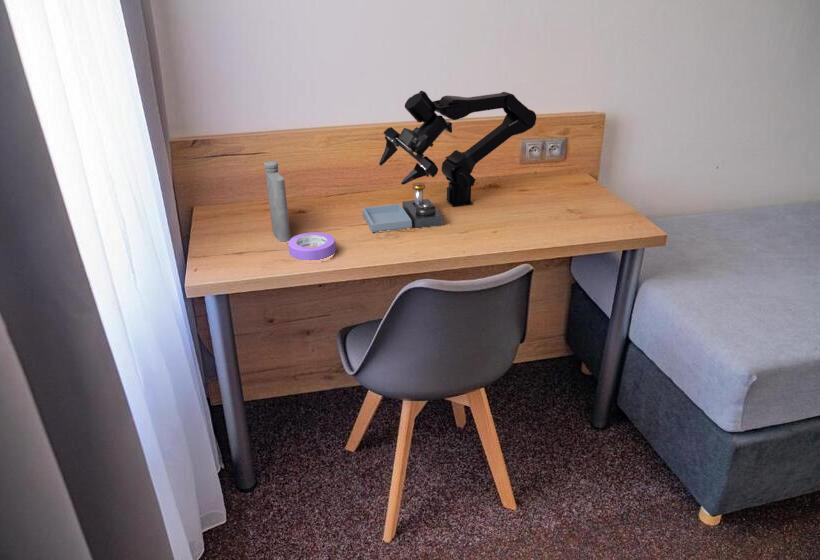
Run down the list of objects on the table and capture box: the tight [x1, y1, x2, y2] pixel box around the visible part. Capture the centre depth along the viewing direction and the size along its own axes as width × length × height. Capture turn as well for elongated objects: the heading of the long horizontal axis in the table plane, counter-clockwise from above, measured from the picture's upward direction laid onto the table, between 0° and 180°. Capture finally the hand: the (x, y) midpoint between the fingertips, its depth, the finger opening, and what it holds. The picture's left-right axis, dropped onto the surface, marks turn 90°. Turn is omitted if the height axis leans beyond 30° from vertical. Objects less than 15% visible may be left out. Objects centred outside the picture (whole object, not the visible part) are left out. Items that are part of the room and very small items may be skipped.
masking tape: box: [288, 231, 336, 261], centre depth 160 cm, size 12×12×4 cm
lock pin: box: [412, 182, 426, 207], centre depth 182 cm, size 4×4×9 cm
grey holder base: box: [401, 198, 444, 229], centre depth 180 cm, size 8×14×5 cm, turn 15°
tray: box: [362, 203, 413, 233], centre depth 178 cm, size 11×13×2 cm
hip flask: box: [263, 160, 292, 242], centre depth 168 cm, size 16×4×20 cm, turn 18°
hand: (390, 174), depth 178 cm, fingers open, 9 cm apart
